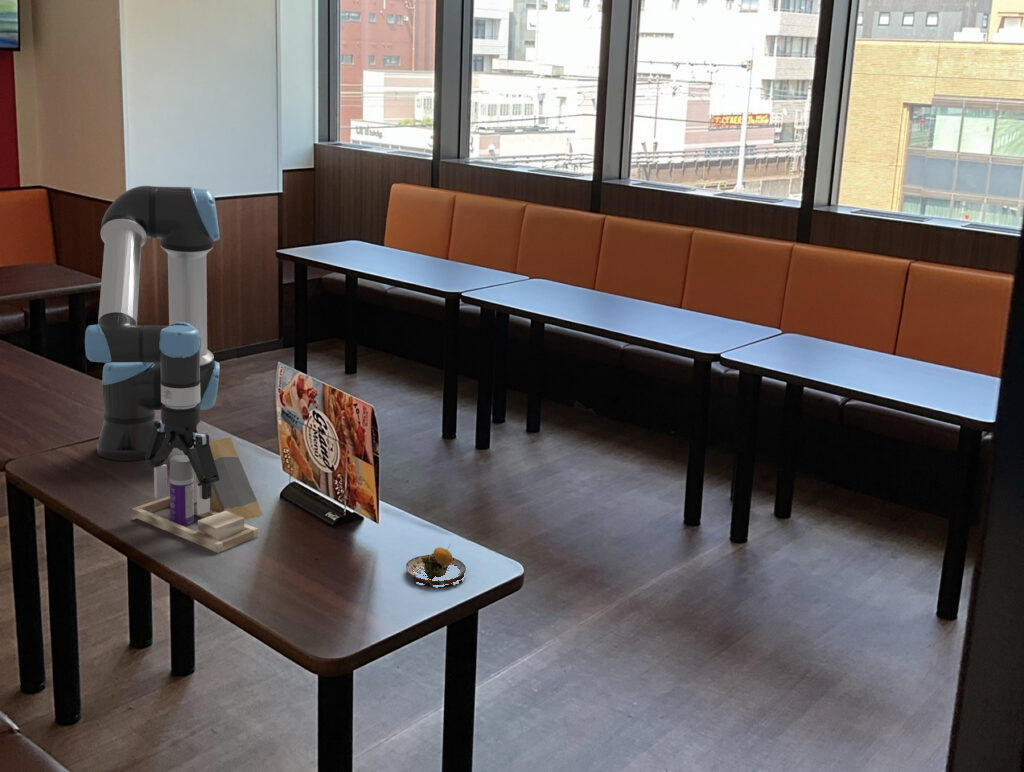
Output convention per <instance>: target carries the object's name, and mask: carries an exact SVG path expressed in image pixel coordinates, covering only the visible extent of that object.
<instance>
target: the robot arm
mask: <svg viewBox="0 0 1024 772" xmlns="http://www.w3.org/2000/svg"><path fill="white" fill-rule="evenodd" d="M218 221H219V220H218V212H217V205H216V199H215V195H214V193H213V192H212V190H209V189H206V188H198V187H194V186H192V187H191V186H189V187H188V186H153V185H152V186H151V185H141V186H136V187H135V186H134V187H133V188H131V189H130V188H129V190H126V191H124V192H123V193H122V194H120V195H119V196H118V197H117V198H115V200H113V201H112V203H111V204H110V205H109V207H108V208H107V209H106V211H105V213H104V215H103V217H102V220H101V225H100V238H101V240H102V242H103V244H104V246H103V247H104V248H103V257H102V259H103V260H102V271H101V283H100V295H99V296H100V297H99V306H98V307H99V308H98V317H97V318H98V321H97V323H96V324H91V325H90V324H89V325H88V326H87V327H86V330H85V334H84V335H85V336H84V349H85V357H86V358H87V360H89V362H95V363H104V365H103V367H102V380H101V384H102V392H103V394H102V395H103V424H102V427H101V430H100V432H99V433H100V434H99V438H98V440H97V442H96V451H97V455H99V457H101V458H105V459H107V460H110V461H111V460H112V461H119V462H120V461H121V462H127V461H129V462H131V461H132V462H133V461H141V460H142V461H143V460H145V461H146V462H149V463H150V465H151V466H152V478H153V481H154V483H153V484H154V488H153V489H154V490H153V491H154V498H155V499H159V498H161V497H164V496H167V495H168V491H169V490H168V465H167V464H166V463H167V459H168V458H169V456H170V454H171V453H172V451H173V450H174V449H178V450H180V451H182V453H183V455H187V457H188V459H189V461H190V463H191V465H192V467H193V472H194V473H195V477H196V476H197V478H198V480H199V482H200V483H198V484H197V488H196V504H197V514H198V515H201V514H204V513H207V512H209V511H210V498H211V484H212V483H214V482H217V481H219V475H218V472H217V468H216V465H215V462H214V458H213V455H212V452H211V448H210V445H209V440H210V435H209V433H208V432H205V433H199V432H198V429H197V427H198V425H199V424H200V422H201V410H210V409H212V408H214V406H215V405H216V400H217V395H218V387H219V378H220V372H221V371H220V370H221V368H220V367H221V366H220V365H221V364H220V363H219V362H218V361H216V360H215V359H214V358H215V357H214V353H212V352H211V351H210V350H209V349H208V325H207V324H208V309H207V308H208V306H207V304H208V299H207V298H208V297H207V296H208V293H207V291H208V290H207V289H208V284H207V282H208V281H207V273H208V272H207V266H208V265H207V255H208V253H209V252H210V251H212V250H213V249H214V242H216V241H219V240H220V237H221V236H220V230H219V222H218ZM147 239H158V240H160V248H161V249H162V250H164V252H166V253H167V274H168V275H167V277H168V280H167V283H168V285H167V288H168V323H169V324H168V325H138V315H139V313H138V311H139V293H140V291H139V290H140V275H141V256H142V247H144V245H145V244H146V243H147ZM156 411H160V420H156ZM204 477H205V478H204Z"/></svg>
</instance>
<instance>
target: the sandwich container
mask: <svg viewBox="0 0 1024 772" xmlns="http://www.w3.org/2000/svg"><path fill="white" fill-rule="evenodd" d="M209 445H210V448H211V452H212V455H213V458H214V462H215V465H216V468H217V472H218V475H219V481H217V482H214V483H212V484H211V498H210V510H213V511H215V512H218V513H220V512H223V511H228V512H231V513H233V514H236V515H238V516H240V517H243V518H244V521H246V520H251V519H253V518H257V517H261V516H263V515H264V513H263V510H262V508H261V507H260V504H259V502H258V499H257V497H256V495H255V492H254V490H253V488H252V485H251V484H250V480H249V479H248V476H247V473H246V472H245V468H244V467H243V464H242V462H241V460H240V457H239V455H238V451H237V450H236V447H235V444H234V441H233V439H232V437H231V436H228V437H222V438H217V439H211V440H210V439H209ZM195 478H196V481H195V482H196V483H195V484H196V489H197V484H198V483H200V482H199V480H198V478H197V476H196V475H195ZM204 478H205V477H204Z"/></svg>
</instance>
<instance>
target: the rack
mask: <svg viewBox="0 0 1024 772" xmlns="http://www.w3.org/2000/svg"><path fill="white" fill-rule="evenodd" d="M167 508H170V495H168V496H165V497H162V498H160V499H159V498H158V499H156V500H153V501H150V502H147V503H144V504H141V505H138V506H136V507H132V508H131V519H132V521H133V520H136V519H138V520H140V521H143V522H144V523H147V524H149V525H152V526H154V527H156V528H158V529H161V530H164V531H166V532H168V533H171V534H173V535H175V536H177V537H180V538H182V539H185V540H187V541H189V542H191V543H194V544H196V545H199V546H201V547H203V548H205V549H208V550H211V551H213V552H215V553H218V554H219V553H221V552H223V551H226V550H228V549H230V548H234V547H236V546H238V545H241V544H244V543H245V542H248V541H251V540H253V539H255V538H258V537H259V528H258V527H255V526H252V525H250V524H247V523H245V522H244V527H245V531H242V532H240V533H237V534H235V535H232V536H230V537H227V538H225V539H222V540H220V541H218V540H215V539H213V538H210V537H208V536H206V535H203V534H201V533H199V530H198V528H196V529H191V528H189V527H185V526H182V525H179V524H177V523H174V522H172V521H170V520H169V519H166V518H164V517H162V516H160V515H158V514H155V513H156V512H159V511H161V510H164V509H167ZM215 514H218V512H215V511H213V510H210V511H209V512H207V513H204V514H201V515H198V514H197V503H195V502H194V516H197V517H200V518H201V519H203V518H206V517H209V516H212V515H215Z"/></svg>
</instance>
